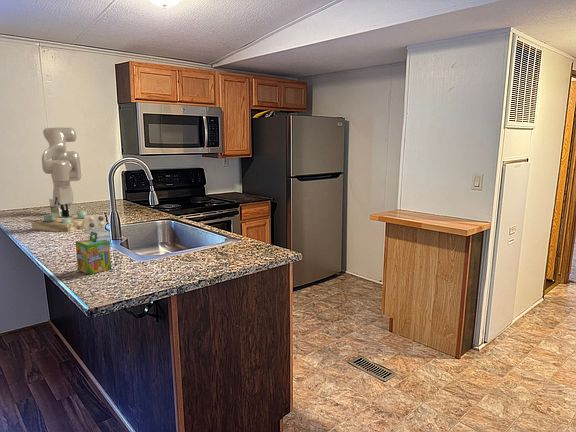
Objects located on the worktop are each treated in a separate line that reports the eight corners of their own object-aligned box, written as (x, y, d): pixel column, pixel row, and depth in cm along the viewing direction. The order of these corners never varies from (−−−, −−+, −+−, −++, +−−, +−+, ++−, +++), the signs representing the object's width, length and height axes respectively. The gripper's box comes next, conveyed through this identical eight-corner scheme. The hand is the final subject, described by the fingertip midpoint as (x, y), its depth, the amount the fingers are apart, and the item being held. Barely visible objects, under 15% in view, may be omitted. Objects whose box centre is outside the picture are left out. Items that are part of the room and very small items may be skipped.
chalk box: (77, 270, 155) (73, 233, 152) (101, 265, 162) (97, 228, 159) (88, 275, 150) (84, 236, 147) (112, 269, 157) (109, 232, 154)
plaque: (85, 228, 229) (84, 216, 228) (108, 226, 234) (107, 214, 233) (85, 228, 228) (84, 216, 226) (108, 226, 233) (107, 214, 231)
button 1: (49, 221, 233) (48, 214, 232) (55, 221, 232) (55, 214, 231) (42, 222, 229) (41, 215, 228) (49, 223, 227) (48, 216, 227)
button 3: (66, 225, 231) (66, 218, 230) (73, 226, 229) (73, 219, 229) (60, 227, 226) (59, 220, 225) (67, 227, 225) (66, 220, 224)
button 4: (82, 217, 241) (81, 211, 241) (88, 218, 240) (88, 211, 240) (75, 219, 237) (75, 212, 236) (82, 219, 236) (82, 213, 235)
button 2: (65, 217, 245) (64, 210, 244) (71, 217, 243) (71, 210, 243) (59, 218, 240) (58, 212, 239) (65, 219, 239) (65, 212, 238)
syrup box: (66, 219, 256) (63, 196, 253) (60, 221, 250) (57, 198, 247) (57, 219, 256) (55, 196, 254) (51, 221, 251) (48, 197, 248)
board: (65, 221, 250) (64, 215, 249) (98, 223, 243) (98, 216, 243) (32, 229, 227) (31, 222, 226) (67, 232, 221) (67, 224, 220)
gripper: (66, 182, 231) (70, 213, 235) (45, 185, 217) (49, 218, 221) (77, 182, 229) (81, 214, 233) (56, 185, 215) (60, 219, 219)
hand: (65, 216), depth 227 cm, fingers closed
